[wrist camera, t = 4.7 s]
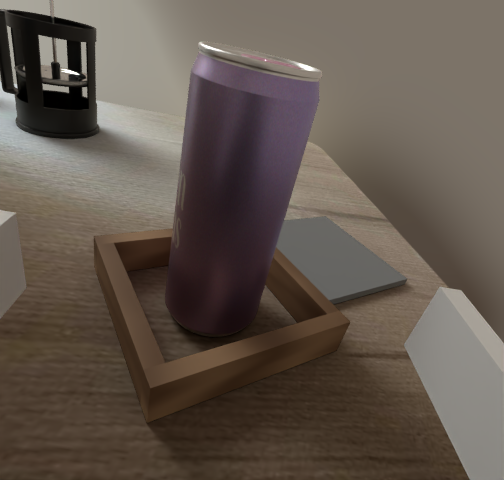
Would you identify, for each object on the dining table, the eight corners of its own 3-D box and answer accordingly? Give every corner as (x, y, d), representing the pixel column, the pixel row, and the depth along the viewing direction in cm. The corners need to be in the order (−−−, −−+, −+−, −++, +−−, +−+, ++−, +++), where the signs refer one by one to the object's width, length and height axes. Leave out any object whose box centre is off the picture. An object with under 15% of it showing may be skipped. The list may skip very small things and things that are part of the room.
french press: (115, 128, 50) (119, -84, 39) (82, 145, 42) (73, -116, 30) (33, 108, 50) (11, -111, 38) (-17, 122, 42) (-64, -151, 30)
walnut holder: (146, 423, 16) (150, 388, 15) (94, 267, 24) (93, 236, 23) (336, 350, 22) (350, 321, 21) (244, 246, 31) (250, 221, 29)
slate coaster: (308, 311, 25) (311, 305, 25) (235, 230, 33) (237, 225, 32) (404, 284, 31) (407, 278, 31) (323, 221, 38) (325, 216, 38)
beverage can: (263, 343, 22) (348, 81, 14) (162, 341, 20) (197, 46, 13) (247, 281, 27) (304, 62, 19) (165, 276, 25) (192, 36, 17)
